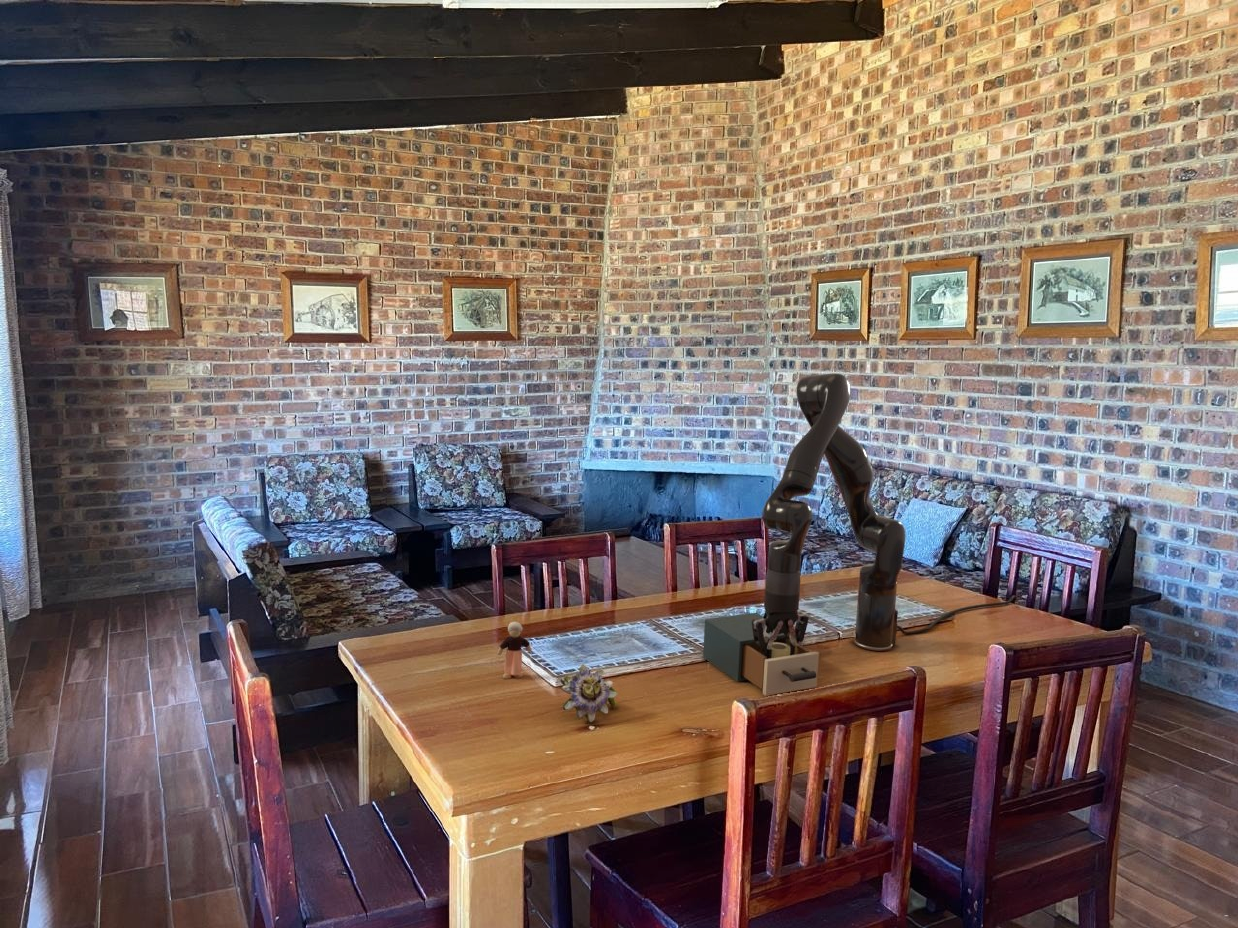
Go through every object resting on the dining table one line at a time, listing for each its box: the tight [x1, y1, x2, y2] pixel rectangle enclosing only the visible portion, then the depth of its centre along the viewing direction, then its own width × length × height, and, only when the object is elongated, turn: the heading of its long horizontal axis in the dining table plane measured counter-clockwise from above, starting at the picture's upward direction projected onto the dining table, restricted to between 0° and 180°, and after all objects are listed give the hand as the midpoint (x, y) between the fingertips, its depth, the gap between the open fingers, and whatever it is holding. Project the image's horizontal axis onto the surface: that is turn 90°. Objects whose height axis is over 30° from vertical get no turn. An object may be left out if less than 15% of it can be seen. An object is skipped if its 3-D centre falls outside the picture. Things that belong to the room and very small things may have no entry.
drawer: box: [741, 638, 820, 697], centre depth 195 cm, size 19×13×8 cm
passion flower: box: [559, 663, 618, 723], centre depth 179 cm, size 11×11×12 cm
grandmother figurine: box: [496, 620, 533, 680], centre depth 196 cm, size 8×4×13 cm, turn 117°
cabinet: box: [702, 612, 785, 683], centre depth 206 cm, size 16×15×10 cm
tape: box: [771, 642, 791, 658], centre depth 195 cm, size 5×5×4 cm
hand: (777, 661), depth 195 cm, fingers closed on tape, 5 cm apart
